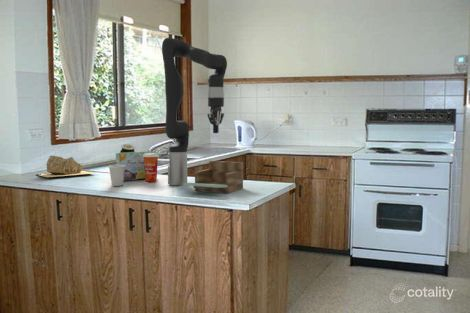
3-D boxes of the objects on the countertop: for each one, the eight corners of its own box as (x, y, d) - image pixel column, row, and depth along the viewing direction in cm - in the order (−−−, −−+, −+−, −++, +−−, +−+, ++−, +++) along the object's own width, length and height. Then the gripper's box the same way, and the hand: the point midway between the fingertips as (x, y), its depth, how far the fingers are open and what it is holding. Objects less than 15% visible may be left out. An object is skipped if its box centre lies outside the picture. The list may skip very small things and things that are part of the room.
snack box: (121, 180, 269) (118, 152, 270) (117, 181, 273) (115, 153, 274) (157, 177, 280) (154, 150, 281) (153, 178, 285) (150, 151, 286)
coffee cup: (140, 181, 270) (140, 154, 269) (147, 179, 278) (147, 152, 276) (154, 182, 268) (154, 154, 266) (161, 180, 275) (161, 153, 274)
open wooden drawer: (194, 190, 240) (194, 163, 239) (210, 186, 254) (210, 160, 253) (228, 193, 232) (228, 165, 231) (242, 188, 247) (243, 162, 245)
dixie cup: (105, 185, 258) (105, 165, 257) (116, 183, 265) (116, 164, 264) (118, 186, 254) (117, 166, 253) (129, 184, 261) (128, 165, 260)
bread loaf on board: (46, 176, 280) (41, 151, 286) (39, 192, 296) (33, 168, 301) (95, 172, 296) (89, 148, 302) (85, 188, 312) (80, 164, 318)
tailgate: (193, 187, 239) (182, 187, 229) (194, 182, 239) (182, 182, 229) (227, 189, 231) (217, 189, 222) (228, 185, 231) (217, 185, 222)
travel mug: (118, 178, 280) (121, 148, 274) (117, 172, 287) (120, 143, 281) (133, 178, 283) (136, 149, 276) (131, 173, 290) (134, 144, 283)
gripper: (215, 97, 247) (215, 132, 249) (202, 96, 236) (202, 133, 237) (229, 97, 244) (228, 132, 246) (216, 96, 232) (216, 134, 234)
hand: (215, 133), depth 242 cm, fingers closed
